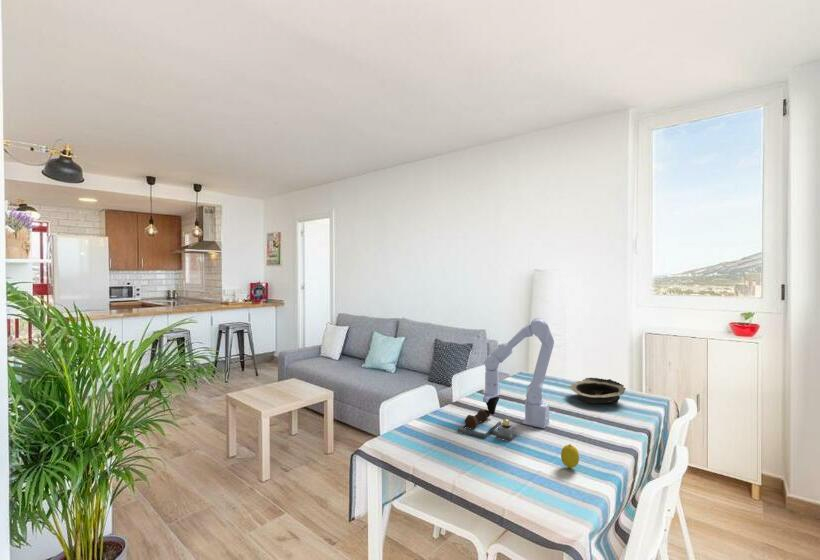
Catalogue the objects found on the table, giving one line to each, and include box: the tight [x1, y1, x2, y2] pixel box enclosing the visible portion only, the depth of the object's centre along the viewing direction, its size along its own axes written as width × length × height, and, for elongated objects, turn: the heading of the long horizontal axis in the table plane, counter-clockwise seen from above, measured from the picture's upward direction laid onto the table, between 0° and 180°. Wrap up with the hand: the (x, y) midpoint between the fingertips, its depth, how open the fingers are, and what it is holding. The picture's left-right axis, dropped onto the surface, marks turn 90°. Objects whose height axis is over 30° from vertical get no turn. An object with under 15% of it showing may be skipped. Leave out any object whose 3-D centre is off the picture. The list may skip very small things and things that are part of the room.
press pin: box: [502, 418, 510, 428], centre depth 156 cm, size 2×2×3 cm
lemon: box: [560, 443, 580, 470], centre depth 132 cm, size 6×6×8 cm
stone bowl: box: [569, 377, 626, 405], centre depth 197 cm, size 25×25×9 cm
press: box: [456, 421, 517, 442], centre depth 162 cm, size 21×17×4 cm
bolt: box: [464, 409, 491, 430], centre depth 170 cm, size 6×5×15 cm
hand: (491, 413), depth 175 cm, fingers closed
